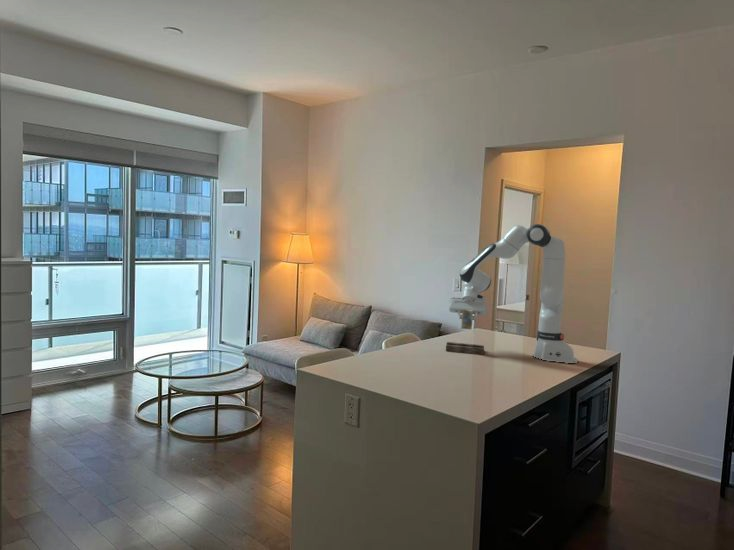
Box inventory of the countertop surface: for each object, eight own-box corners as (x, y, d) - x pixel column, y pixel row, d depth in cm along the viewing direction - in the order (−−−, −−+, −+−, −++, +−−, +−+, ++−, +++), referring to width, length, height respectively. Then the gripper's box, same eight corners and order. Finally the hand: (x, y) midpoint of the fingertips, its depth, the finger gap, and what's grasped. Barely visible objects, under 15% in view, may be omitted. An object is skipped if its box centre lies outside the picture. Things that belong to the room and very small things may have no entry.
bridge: (483, 350, 294) (483, 345, 293) (483, 354, 284) (484, 349, 283) (446, 347, 297) (446, 341, 297) (445, 351, 287) (446, 345, 287)
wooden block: (471, 328, 291) (472, 310, 290) (471, 329, 288) (472, 311, 287) (461, 327, 292) (462, 309, 291) (461, 328, 289) (462, 310, 289)
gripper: (450, 293, 297) (447, 313, 289) (487, 296, 293) (486, 317, 285) (449, 300, 302) (447, 320, 293) (487, 303, 298) (485, 324, 289)
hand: (467, 318), depth 289 cm, fingers closed on wooden block, 5 cm apart
